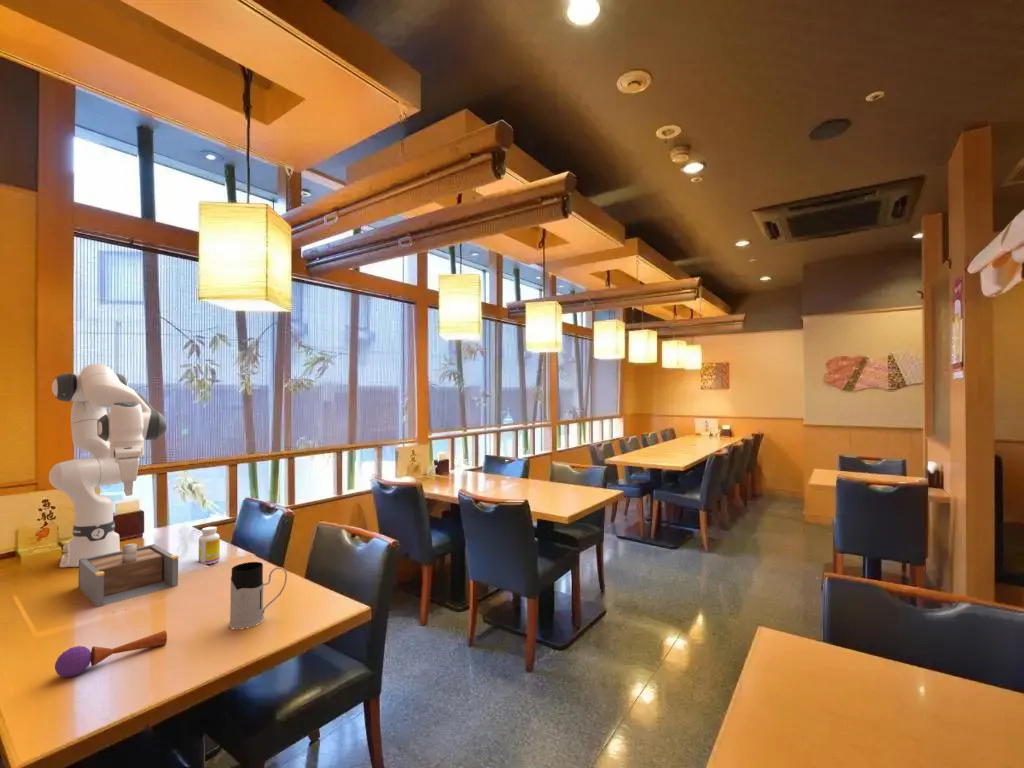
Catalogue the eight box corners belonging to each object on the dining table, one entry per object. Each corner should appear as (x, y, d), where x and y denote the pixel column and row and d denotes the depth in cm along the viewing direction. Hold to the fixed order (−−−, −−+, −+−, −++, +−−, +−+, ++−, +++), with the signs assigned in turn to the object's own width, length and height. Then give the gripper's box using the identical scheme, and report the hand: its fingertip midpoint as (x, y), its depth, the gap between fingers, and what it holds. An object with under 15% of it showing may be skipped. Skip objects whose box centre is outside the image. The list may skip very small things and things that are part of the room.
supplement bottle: (223, 560, 181) (224, 525, 181) (210, 566, 174) (211, 530, 175) (207, 559, 182) (207, 525, 182) (193, 565, 175) (194, 530, 175)
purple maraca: (170, 631, 117) (59, 660, 102) (166, 655, 117) (55, 687, 102) (163, 620, 121) (55, 646, 105) (159, 643, 121) (51, 671, 106)
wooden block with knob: (87, 585, 153) (88, 545, 153) (148, 571, 165) (149, 533, 166) (98, 596, 144) (99, 553, 144) (162, 580, 157) (162, 540, 157)
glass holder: (231, 617, 133) (232, 563, 133) (287, 609, 138) (288, 557, 138) (225, 632, 125) (225, 574, 125) (285, 622, 130) (285, 567, 130)
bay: (78, 591, 152) (78, 557, 152) (154, 572, 168) (154, 542, 168) (96, 611, 137) (97, 574, 138) (177, 589, 153) (178, 555, 153)
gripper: (114, 451, 161) (115, 492, 160) (115, 453, 146) (116, 498, 145) (137, 449, 165) (138, 489, 164) (141, 451, 150) (142, 495, 149)
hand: (128, 494), depth 155 cm, fingers open, 8 cm apart
